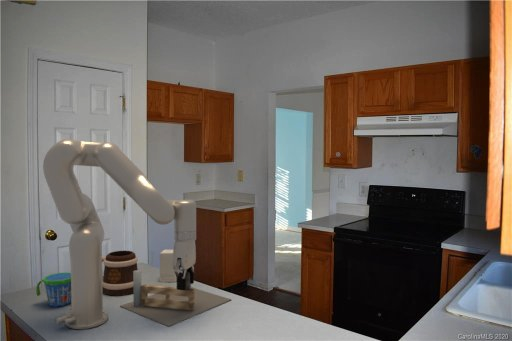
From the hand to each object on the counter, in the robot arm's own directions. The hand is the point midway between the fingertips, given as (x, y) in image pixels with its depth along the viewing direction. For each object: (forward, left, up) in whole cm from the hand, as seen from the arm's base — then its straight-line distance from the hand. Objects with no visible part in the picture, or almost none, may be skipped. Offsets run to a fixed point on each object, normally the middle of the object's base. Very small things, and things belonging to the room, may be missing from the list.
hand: (185, 285), depth 140 cm
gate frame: (+4, +17, -9) cm, 19 cm away
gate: (-3, +6, -8) cm, 11 cm away
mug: (-2, +40, -9) cm, 41 cm away
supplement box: (+20, +33, -9) cm, 40 cm away
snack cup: (-24, +42, -9) cm, 49 cm away
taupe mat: (+3, +8, -9) cm, 13 cm away
